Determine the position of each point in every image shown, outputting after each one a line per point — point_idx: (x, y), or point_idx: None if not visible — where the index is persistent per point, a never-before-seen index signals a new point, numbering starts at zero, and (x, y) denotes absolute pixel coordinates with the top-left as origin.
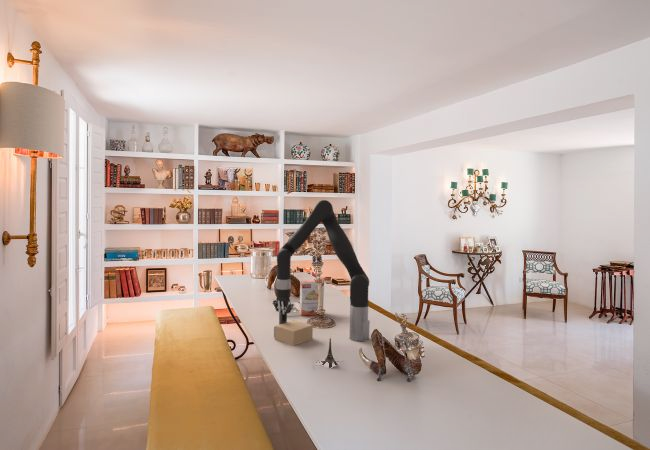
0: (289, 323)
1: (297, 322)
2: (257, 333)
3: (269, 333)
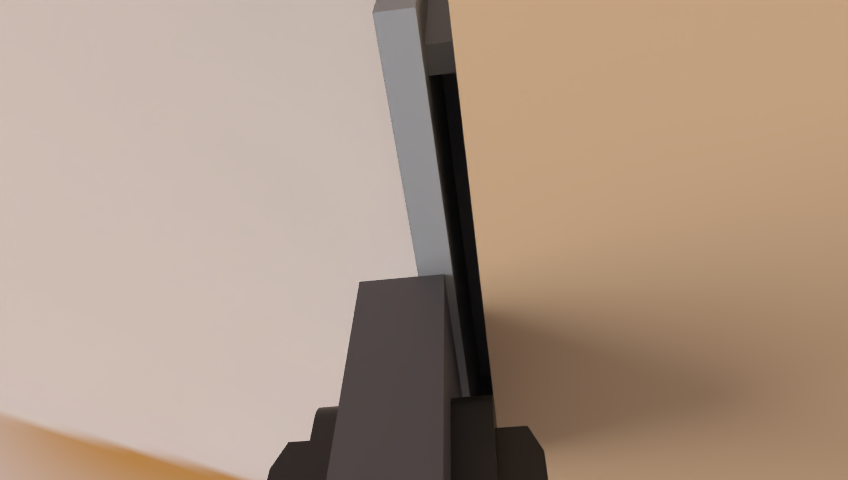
0: (626, 333)
1: (766, 89)
2: (79, 397)
3: (167, 282)
